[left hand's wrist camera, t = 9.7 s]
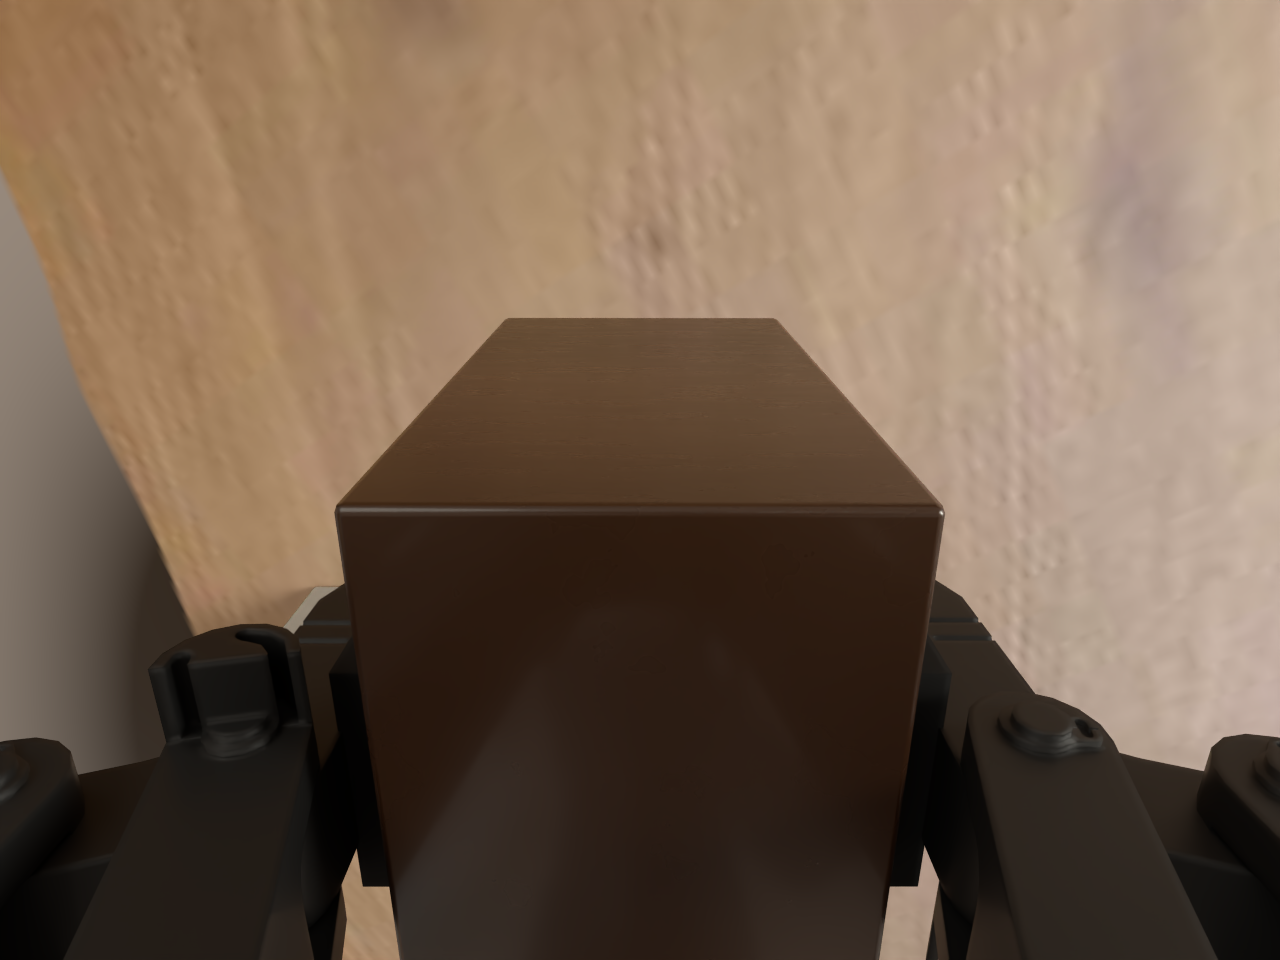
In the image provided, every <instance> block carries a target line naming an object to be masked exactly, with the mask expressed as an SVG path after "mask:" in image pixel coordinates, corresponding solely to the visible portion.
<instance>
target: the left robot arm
mask: <svg viewBox="0 0 1280 960" xmlns="http://www.w3.org/2000/svg"><path fill="white" fill-rule="evenodd" d="M148 672H149V676H150V680H151V683H152V687H153V691H154V695H155V699H156V703H157V707H158V711H159V715H160V719H161V723H162V727H163V731H164V735H165V739H166V745H165V747H164V749H163V751H162V753H161V755H160V757H158V758H154V759H150V760H147V761H143V762H138V763H133V764H128V765H124V766H119V767H114V768H109V769H104V770H99V771H94V772H90V773H85V774H80V775H78V774H77V771H76V767H75V764H74V761H73V758H72V754H71V751H70V750H68V749H67V748H66V747H65V746H64V745H62V744H61V743H60V742H59V741H54V740H48V739H42V738H27V739H18V740H9V741H3V742H0V960H342V955H343V946H344V938H345V930H346V922H347V918H346V910H345V903H344V897H343V891H342V885H341V884H342V882H343V880H344V877H345V875H346V873H347V870H348V868H349V865H350V863H351V861H352V858H353V856H354V853H355V851H356V849H357V853H358V859H359V866H360V872H361V878H362V884H363V887H389V881H388V874H387V867H386V860H385V854H384V847H383V840H382V833H381V826H380V820H379V813H378V806H377V799H376V792H375V785H374V779H373V772H372V765H371V758H370V751H369V745H368V738H367V731H366V724H365V717H364V710H363V704H362V697H361V690H360V683H359V676H358V670H357V663H356V656H355V649H354V642H353V636H352V629H351V622H350V615H349V608H348V602H347V595H346V588H345V583H344V584H343V585H341V586H340V587H338V588H337V589H335V590H334V591H332V592H330V593H329V594H327V595H326V596H324V597H323V598H321V599H320V600H319V601H318V602H317V603H316V605H315V606H314V607H313V609H312V610H311V611H310V613H309V614H308V615H307V617H306V618H305V619H304V621H303V625H300V626H299V627H298V629H297V630H296V631H295V633H294V634H293V633H292V632H291V631H289V630H288V629H287V628H282V627H278V626H274V625H270V624H240V625H235V626H230V627H224V628H219V629H214V630H211V631H208V632H205V633H203V634H200V635H197V636H195V637H192V638H189V639H186V640H184V641H183V642H181V643H179V644H178V645H176V646H174V647H173V648H171V649H169V650H168V651H166V652H164V653H163V654H162V655H161V656H160V657H159V658H158V659H157V660H156V661H155V662H154V663H153V664H152V665H151V666H150V667H149V669H148ZM924 845H925V848H926V850H927V852H928V855H929V857H930V860H931V862H932V864H933V867H934V869H935V871H936V874H937V876H938V879H939V885H938V891H937V897H936V902H935V908H934V914H933V920H932V925H931V931H930V937H929V943H928V949H927V954H926V960H1280V738H1278V737H1270V736H1261V735H1251V734H1242V735H1236V736H1230V737H1224V738H1222V739H1221V740H1220V741H1219V742H1218V743H1216V744H1215V745H1214V746H1213V747H1211V751H1210V754H1209V757H1208V760H1207V764H1206V767H1205V770H1204V771H1199V770H1194V769H1190V768H1185V767H1180V766H1175V765H1170V764H1165V763H1160V762H1155V761H1150V760H1146V759H1141V758H1137V757H1133V756H1129V755H1126V754H1122V753H1119V752H1118V749H1117V747H1116V745H1115V743H1114V741H1113V740H1112V739H1111V737H1110V736H1109V735H1108V734H1107V732H1106V731H1105V730H1104V728H1103V727H1102V726H1101V725H1100V724H1099V723H1098V722H1096V721H1095V720H1093V719H1092V718H1091V717H1089V716H1088V715H1086V714H1085V713H1083V712H1082V711H1081V710H1079V709H1077V708H1075V707H1072V706H1070V705H1068V704H1065V703H1063V702H1061V701H1058V700H1056V699H1054V698H1050V697H1046V696H1042V695H1037V694H1035V693H1034V692H1033V690H1032V689H1031V688H1030V686H1029V685H1028V684H1027V682H1026V681H1025V680H1024V678H1023V677H1022V676H1021V674H1020V673H1019V672H1018V670H1017V669H1016V668H1015V666H1014V665H1013V664H1012V662H1011V661H1010V660H1009V659H1008V657H1007V656H1006V655H1005V653H1004V652H1003V651H1002V649H1001V648H1000V647H999V645H998V644H997V643H996V641H992V639H991V635H990V633H989V632H988V631H987V629H986V628H985V627H984V625H983V624H982V623H978V617H977V616H976V615H975V614H974V612H973V611H972V610H971V608H970V607H969V606H968V604H967V603H966V602H965V600H964V599H963V598H962V597H961V596H960V595H958V594H957V593H955V592H953V591H952V590H950V589H949V588H947V587H946V586H944V585H942V584H941V583H939V582H938V581H936V580H935V584H934V591H933V597H932V604H931V611H930V618H929V624H928V631H927V638H926V645H925V651H924V658H923V665H922V672H921V679H920V685H919V692H918V699H917V706H916V712H915V719H914V726H913V733H912V739H911V746H910V753H909V760H908V766H907V773H906V780H905V787H904V793H903V800H902V807H901V814H900V821H899V827H898V834H897V841H896V848H895V854H894V861H893V868H892V875H891V881H890V886H918V882H919V876H920V870H921V863H922V857H923V851H924Z"/></svg>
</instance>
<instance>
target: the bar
mask: <svg viewBox="0 0 1280 960" xmlns="http://www.w3.org/2000/svg"><path fill="white" fill-rule="evenodd" d="M334 513H335V520H336V527H337V533H338V540H339V547H340V554H341V561H342V567H343V574H344V581H345V588H346V595H347V602H348V608H349V615H350V622H351V629H352V636H353V642H354V649H355V656H356V663H357V670H358V676H359V683H360V690H361V697H362V704H363V710H364V717H365V724H366V731H367V738H368V745H369V751H370V758H371V765H372V772H373V779H374V785H375V792H376V799H377V806H378V813H379V820H380V826H381V833H382V840H383V847H384V854H385V860H386V867H387V874H388V881H389V888H390V894H391V901H392V908H393V915H394V922H395V929H396V935H397V942H398V949H399V956H400V960H879V956H880V949H881V942H882V936H883V929H884V922H885V915H886V908H887V902H888V895H889V888H890V881H891V875H892V868H893V861H894V854H895V848H896V841H897V834H898V827H899V821H900V814H901V807H902V800H903V793H904V787H905V780H906V773H907V766H908V760H909V753H910V746H911V739H912V733H913V726H914V719H915V712H916V706H917V699H918V692H919V685H920V679H921V672H922V665H923V658H924V651H925V645H926V638H927V631H928V624H929V618H930V611H931V604H932V597H933V591H934V584H935V577H936V570H937V564H938V557H939V550H940V543H941V536H942V530H943V523H944V516H945V512H944V509H943V506H942V505H941V503H940V502H939V501H938V500H937V499H936V498H935V497H934V496H933V495H932V493H931V492H930V491H929V490H928V489H927V488H926V487H925V486H924V484H923V483H922V482H921V481H920V480H919V479H918V478H917V477H916V475H915V474H914V473H913V472H912V471H911V470H910V469H909V468H908V466H907V465H906V464H905V463H904V462H903V461H902V460H901V459H900V457H899V456H898V455H897V454H896V453H895V452H894V451H893V450H892V448H891V447H890V446H889V445H888V444H887V443H886V442H885V441H884V440H883V438H882V437H881V436H880V435H879V434H878V433H877V432H876V431H875V429H874V428H873V427H872V426H871V425H870V424H869V423H868V422H867V420H866V419H865V418H864V417H863V416H862V415H861V414H860V413H859V411H858V410H857V409H856V408H855V407H854V406H853V405H852V404H851V402H850V401H849V400H848V399H847V398H846V397H845V396H844V395H843V393H842V392H841V391H840V390H839V389H838V388H837V387H836V386H835V385H834V383H833V382H832V381H831V380H830V379H829V378H828V377H827V376H826V374H825V373H824V372H823V371H822V370H821V369H820V368H819V367H818V365H817V364H816V363H815V362H814V361H813V360H812V359H811V358H810V356H809V355H808V354H807V353H806V352H805V351H804V350H803V349H802V347H801V346H800V345H799V344H798V343H797V342H796V341H795V340H794V338H793V337H792V336H791V335H790V334H789V333H788V332H787V331H786V330H785V328H784V327H783V326H782V325H781V324H780V323H779V322H778V321H777V320H776V319H774V318H508V319H506V320H504V322H503V323H502V324H501V325H500V326H499V327H498V328H497V329H496V330H495V331H494V333H493V334H492V335H491V336H490V337H489V338H488V339H487V340H486V341H485V342H484V344H483V345H482V346H481V347H480V348H479V349H478V350H477V351H476V352H475V353H474V355H473V356H472V357H471V358H470V359H469V360H468V361H467V362H466V363H465V364H464V366H463V367H462V368H461V369H460V370H459V371H458V372H457V373H456V374H455V375H454V377H453V378H452V379H451V380H450V381H449V382H448V383H447V384H446V385H445V386H444V388H443V389H442V390H441V391H440V392H439V393H438V394H437V395H436V396H435V397H434V399H433V400H432V401H431V402H430V403H429V404H428V405H427V406H426V407H425V408H424V409H423V411H422V412H421V413H420V414H419V415H418V416H417V417H416V418H415V419H414V420H413V422H412V423H411V424H410V425H409V426H408V427H407V428H406V429H405V430H404V431H403V433H402V434H401V435H400V436H399V437H398V438H397V439H396V440H395V441H394V442H393V444H392V445H391V446H390V447H389V448H388V449H387V450H386V451H385V452H384V453H383V455H382V456H381V457H380V458H379V459H378V460H377V461H376V462H375V463H374V464H373V466H372V467H371V468H370V469H369V470H368V471H367V472H366V473H365V474H364V475H363V477H362V478H361V479H360V480H359V481H358V482H357V483H356V484H355V485H354V486H353V488H352V489H351V490H350V491H349V492H348V493H347V494H346V495H345V496H344V497H343V499H342V500H341V501H340V502H339V503H338V504H337V506H336V509H335V512H334Z"/></svg>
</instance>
